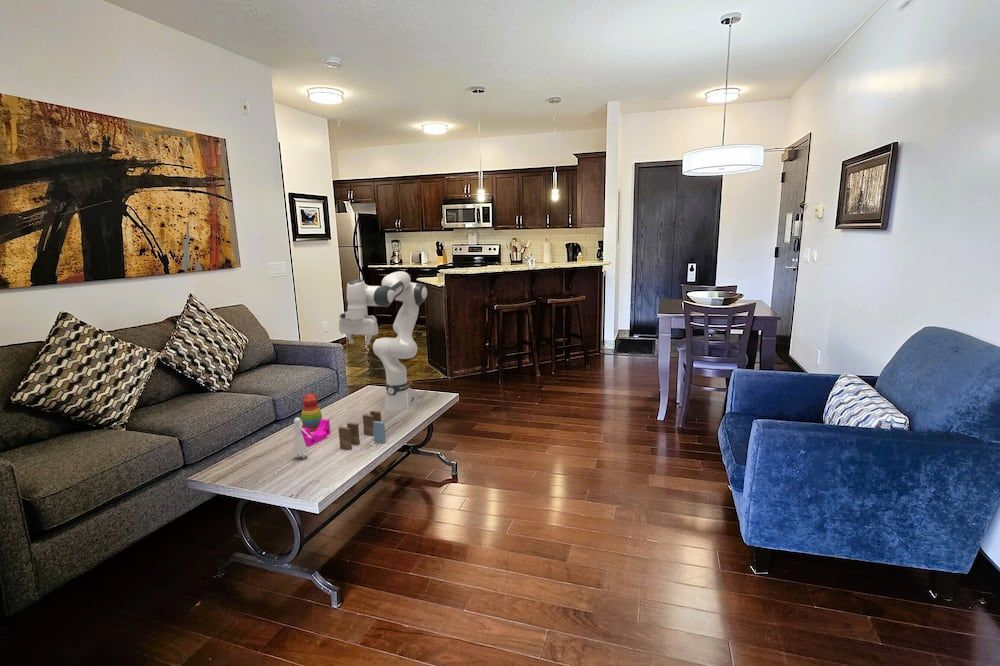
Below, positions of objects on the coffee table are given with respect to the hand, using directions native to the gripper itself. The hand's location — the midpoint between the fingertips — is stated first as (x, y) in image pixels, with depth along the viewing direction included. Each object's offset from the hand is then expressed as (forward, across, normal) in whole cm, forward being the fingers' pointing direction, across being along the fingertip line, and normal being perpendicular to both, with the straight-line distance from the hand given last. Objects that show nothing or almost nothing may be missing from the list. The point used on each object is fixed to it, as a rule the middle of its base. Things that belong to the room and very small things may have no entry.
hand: (359, 343), depth 224 cm
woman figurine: (+44, +5, +35) cm, 56 cm away
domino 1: (+43, -7, +21) cm, 49 cm away
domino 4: (+43, -6, -1) cm, 43 cm away
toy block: (+44, +13, +17) cm, 49 cm away
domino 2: (+43, -6, +16) cm, 46 cm away
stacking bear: (+43, +26, +8) cm, 51 cm away
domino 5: (+43, -16, +10) cm, 47 cm away
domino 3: (+43, -6, +5) cm, 44 cm away
